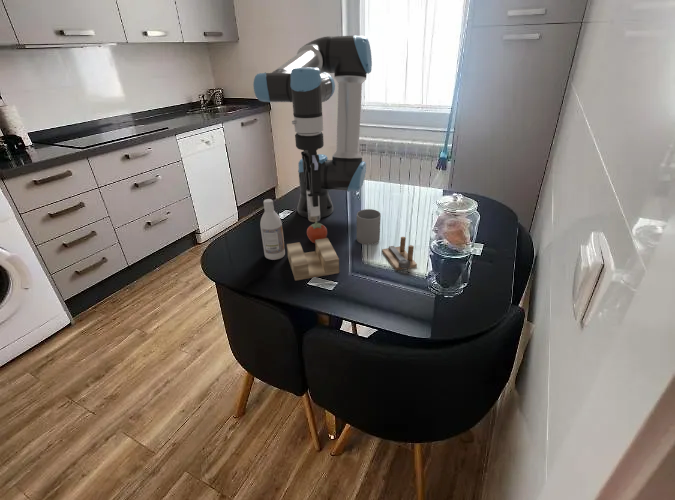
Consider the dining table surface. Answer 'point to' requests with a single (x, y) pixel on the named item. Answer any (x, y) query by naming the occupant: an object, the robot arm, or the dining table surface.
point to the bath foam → (272, 232)
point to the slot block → (313, 260)
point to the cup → (368, 226)
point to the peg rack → (400, 256)
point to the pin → (313, 218)
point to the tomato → (316, 232)
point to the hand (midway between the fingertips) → (313, 212)
